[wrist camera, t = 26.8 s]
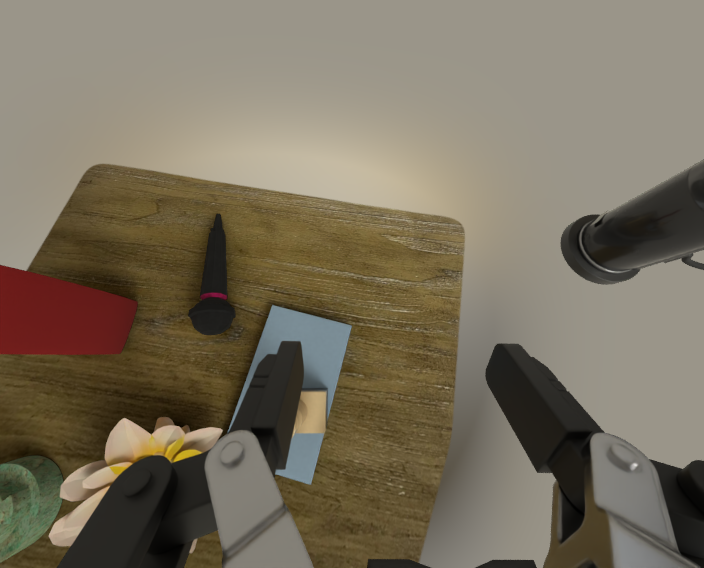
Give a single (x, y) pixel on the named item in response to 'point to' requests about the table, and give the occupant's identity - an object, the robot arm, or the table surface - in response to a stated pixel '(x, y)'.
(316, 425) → the wooden stamp
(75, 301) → the red curved piece
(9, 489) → the decorative artifact
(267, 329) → the mat
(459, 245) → the table surface
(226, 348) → the table surface
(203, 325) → the microphone
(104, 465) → the decorative flower
